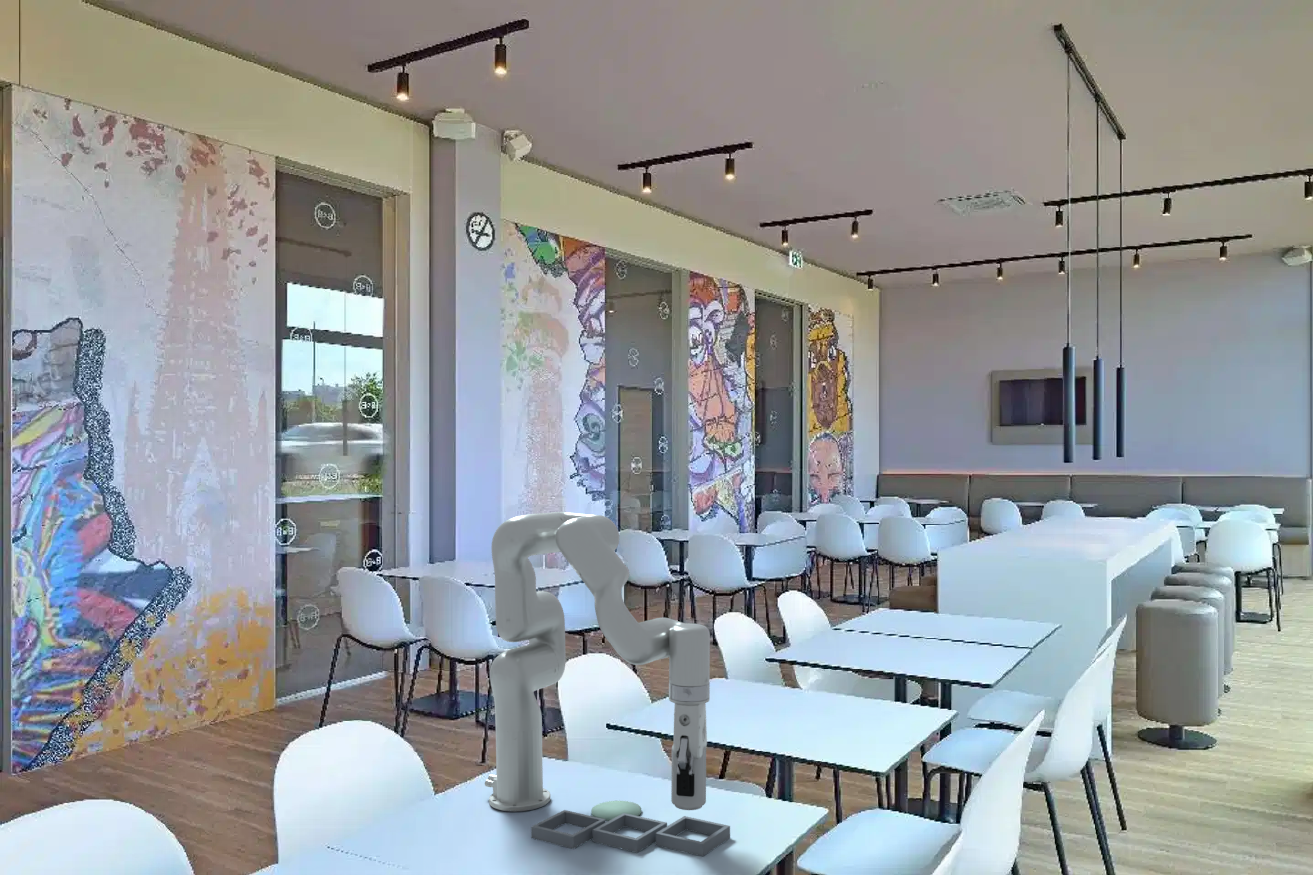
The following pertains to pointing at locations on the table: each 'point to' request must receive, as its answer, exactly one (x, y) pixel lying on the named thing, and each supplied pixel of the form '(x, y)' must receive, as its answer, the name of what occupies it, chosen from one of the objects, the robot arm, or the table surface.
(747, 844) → the table surface
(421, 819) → the table surface
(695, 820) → the tray
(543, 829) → the tray
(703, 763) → the beverage can
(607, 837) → the tray
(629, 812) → the coaster
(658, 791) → the table surface
